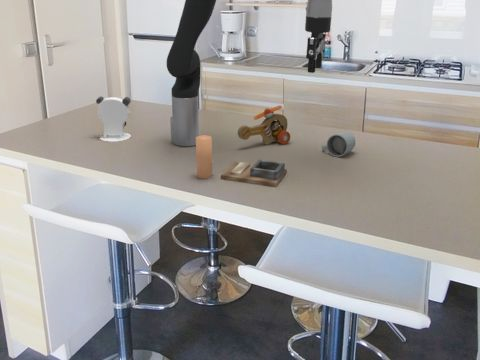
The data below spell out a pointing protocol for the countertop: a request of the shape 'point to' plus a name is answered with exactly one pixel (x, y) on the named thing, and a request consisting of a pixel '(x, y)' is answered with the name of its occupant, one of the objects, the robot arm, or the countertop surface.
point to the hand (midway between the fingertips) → (314, 70)
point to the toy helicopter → (268, 127)
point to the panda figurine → (114, 117)
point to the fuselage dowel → (204, 156)
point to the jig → (256, 172)
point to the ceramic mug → (340, 144)
